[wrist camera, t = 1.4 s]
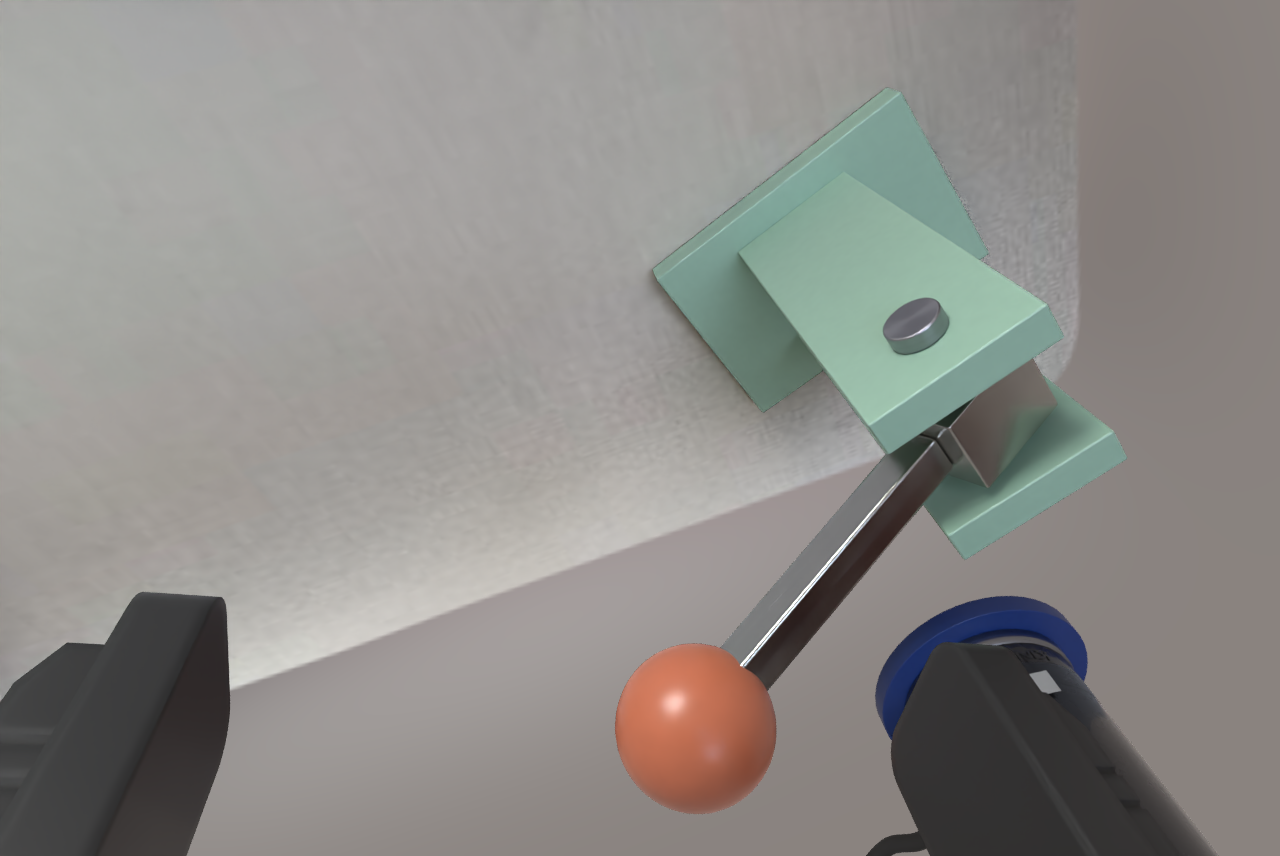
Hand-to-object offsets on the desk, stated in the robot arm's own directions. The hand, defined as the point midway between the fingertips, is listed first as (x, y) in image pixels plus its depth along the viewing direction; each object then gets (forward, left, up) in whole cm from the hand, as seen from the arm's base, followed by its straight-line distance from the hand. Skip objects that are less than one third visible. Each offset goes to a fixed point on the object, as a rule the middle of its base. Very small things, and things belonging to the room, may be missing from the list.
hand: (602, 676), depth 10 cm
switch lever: (-6, -5, -10) cm, 12 cm away
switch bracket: (-4, -9, -22) cm, 24 cm away
